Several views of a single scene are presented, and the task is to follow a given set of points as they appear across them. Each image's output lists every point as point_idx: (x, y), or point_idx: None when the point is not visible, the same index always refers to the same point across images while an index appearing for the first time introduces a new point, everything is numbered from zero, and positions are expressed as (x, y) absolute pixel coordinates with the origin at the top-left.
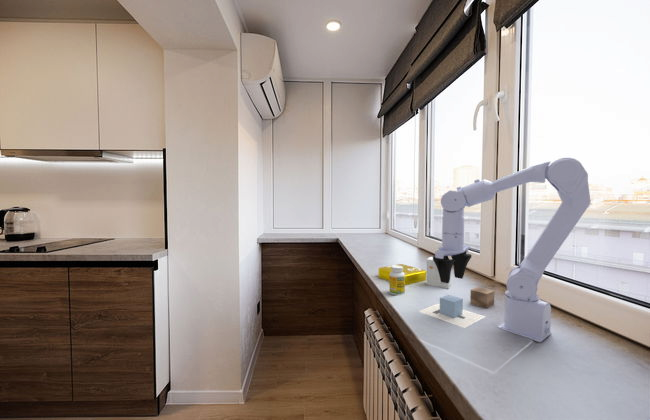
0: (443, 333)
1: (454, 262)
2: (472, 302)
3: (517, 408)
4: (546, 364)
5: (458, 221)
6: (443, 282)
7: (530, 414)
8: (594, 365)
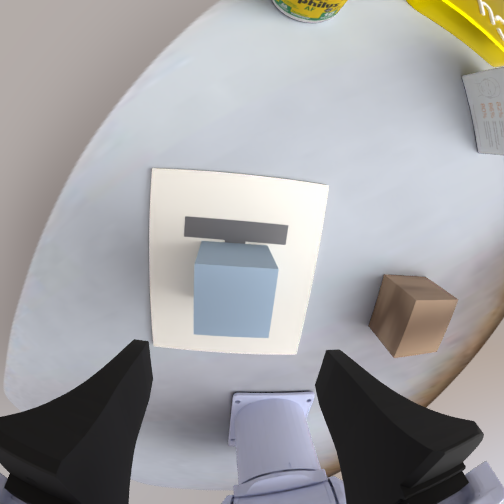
0: (85, 311)
1: (377, 421)
2: (387, 286)
3: None
4: (153, 449)
5: None
6: (490, 136)
7: None
8: (211, 474)
